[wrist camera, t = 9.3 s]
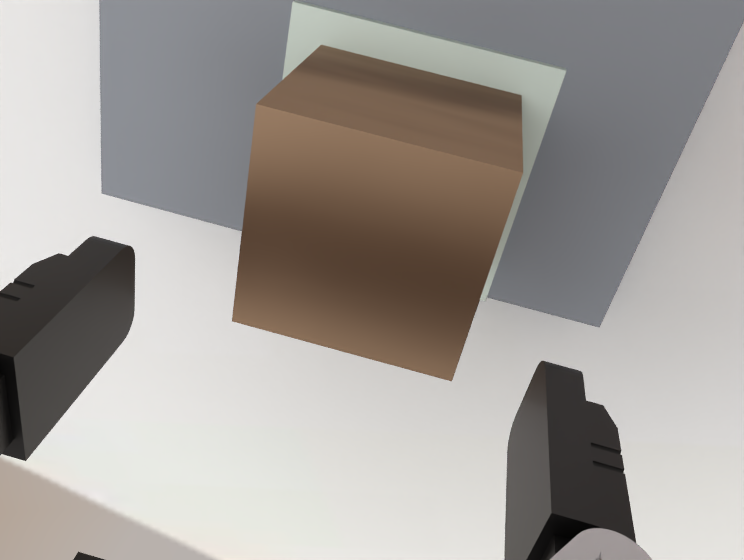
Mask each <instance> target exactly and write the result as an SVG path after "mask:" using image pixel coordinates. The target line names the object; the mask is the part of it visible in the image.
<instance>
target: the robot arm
mask: <svg viewBox="0 0 744 560" xmlns="http://www.w3.org/2000/svg"><path fill="white" fill-rule="evenodd" d="M134 304H135V253H134V250H133V248H132V247H131V246H128V245H124V244H121V243H117V242H113V241H110V240H106V239H102V238H99V237H95V236H92V237H90V238H88V239H87V240H86V241H85V242H83V243H82V244H81V245H80V246H79V247H78V248H77V249H76V250H74V251H73V252H72V253H71V254H70V255H69V256H66V255H63V254H56V255H54V256H51V257H49V258H46V259H44V260H41V261H39V262H37V263H34V264H32V265H31V266H30V267H29V268H27V269H26V270H25V271H24V272H23V273H21V274H20V275H19V276H18V277H17V278H16V279H14V282H13V283H10V284H8V285H7V286H6V287H5V288H4V289H2V290H1V291H0V455H1V454H4V455H7V456H11V457H14V458H17V459H21V460H24V461H26V460H27V459H28V458H29V456H30V455H31V454H32V453H33V451H34V450H35V449H36V448H37V447H38V445H39V444H40V443H41V442H42V440H43V439H44V438H45V437H46V435H47V434H48V433H49V432H50V431H51V429H52V428H53V427H54V426H55V424H56V423H57V422H58V421H59V420H60V418H61V417H62V416H63V415H64V413H65V412H66V411H67V410H68V408H69V407H70V406H71V405H72V404H73V402H74V401H75V400H76V399H77V397H78V396H79V395H80V394H81V393H82V391H83V390H84V389H85V388H86V386H87V385H88V384H89V383H90V381H91V380H92V379H93V378H94V377H95V375H96V374H97V373H98V372H99V370H100V369H101V368H102V367H103V366H104V364H105V363H106V362H107V361H108V359H109V358H110V357H111V356H112V354H113V353H114V352H115V351H116V350H117V348H118V347H119V346H120V345H121V343H122V342H123V341H124V339H125V338H126V336H127V334H128V332H129V330H130V327H131V325H132V321H133V317H134ZM620 453H621V447H620V441H619V434H618V428H617V427H616V425H615V424H614V422H613V420H612V419H611V417H610V416H609V414H608V412H607V411H606V409H605V408H604V406H603V405H600V404H596V403H593V402H589V401H586V398H585V389H584V380H583V374H582V372H581V371H578V370H574V369H571V368H567V367H564V366H560V365H556V364H553V363H549V362H545V361H541V362H540V363H539V365H538V366H537V368H536V371H535V373H534V375H533V377H532V380H531V382H530V384H529V387H528V389H527V391H526V393H525V396H524V398H523V400H522V403H521V405H520V407H519V410H518V412H517V414H516V416H515V419H514V422H513V425H512V428H511V432H510V436H509V442H508V450H507V485H506V523H505V560H652V559H651V558H650V556H649V555H648V554H647V553H646V552H645V551H644V550H643V549H642V548H641V547H640V546H639V545H638V544H636V539H635V533H634V527H633V521H632V514H631V508H630V502H629V496H628V490H627V484H626V477H625V474H623V471H624V465H623V459H622V455H620ZM74 560H104V559H101V558H97V557H94V556H91V555H87V554H83V553H80V552H78V553H77V555H76V556H75V558H74Z"/></svg>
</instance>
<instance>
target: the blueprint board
mask: <svg viewBox="0 0 744 560" xmlns="http://www.w3.org/2000/svg"><path fill="white" fill-rule="evenodd" d="M99 4H100V93H101V181H102V194H106V195H109V196H113V197H117V198H120V199H124V200H128V201H132V202H135V203H139V204H143V205H146V206H150V207H154V208H158V209H161V210H165V211H169V212H172V213H176V214H180V215H184V216H187V217H191V218H195V219H198V220H202V221H206V222H210V223H213V224H217V225H221V226H224V227H228V228H232V229H236V230H239V231H242V227H243V218H244V209H245V200H246V191H247V181H248V172H249V163H250V154H251V145H252V136H253V127H254V118H255V109H256V104H257V103H258V102H259V101H260V100H261V99H262V98H263V97H264V96H265V95H267V94H268V93H269V92H270V91H271V90H272V89H273V88H274V87H275V86H276V85H278V84H279V83H280V82H281V81H282V80H283V79H284V78H285V77H286V76H287V75H288V74H290V73H291V72H292V71H293V70H294V69H295V68H296V67H297V66H298V65H299V64H301V63H302V62H303V61H304V60H305V59H306V58H307V57H308V56H309V55H310V54H312V53H313V52H314V51H315V50H316V49H317V48H318V47H319V46H320V45H325V46H329V47H333V48H337V49H341V50H345V51H349V52H353V53H357V54H361V55H365V56H369V57H372V58H376V59H380V60H384V61H388V62H392V63H396V64H400V65H404V66H408V67H412V68H416V69H420V70H424V71H428V72H432V73H436V74H440V75H444V76H448V77H452V78H456V79H460V80H464V81H468V82H472V83H476V84H479V85H483V86H487V87H491V88H495V89H499V90H503V91H507V92H511V93H515V94H519V95H522V140H523V175H522V178H521V181H520V184H519V187H518V189H517V192H516V195H515V198H514V201H513V204H512V207H511V210H510V213H509V216H508V219H507V222H506V224H505V227H504V230H503V233H502V236H501V239H500V242H499V245H498V248H497V251H496V254H495V257H494V259H493V262H492V265H491V268H490V271H489V274H488V277H487V280H486V283H485V286H484V289H483V292H482V294H481V297H480V300H482V301H486V298H487V297H488V298H492V299H496V300H499V301H503V302H507V303H510V304H514V305H518V306H522V307H525V308H529V309H533V310H536V311H540V312H544V313H548V314H551V315H555V316H559V317H562V318H566V319H570V320H574V321H577V322H581V323H585V324H588V325H592V326H596V327H600V325H601V323H602V321H603V318H604V316H605V314H606V312H607V310H608V308H609V306H610V304H611V301H612V299H613V297H614V295H615V293H616V291H617V289H618V287H619V284H620V282H621V280H622V278H623V276H624V274H625V272H626V270H627V267H628V265H629V263H630V261H631V259H632V257H633V255H634V253H635V251H636V248H637V246H638V244H639V242H640V240H641V238H642V236H643V234H644V231H645V229H646V227H647V225H648V223H649V221H650V219H651V217H652V214H653V212H654V210H655V208H656V206H657V204H658V202H659V200H660V198H661V195H662V193H663V191H664V189H665V187H666V185H667V183H668V181H669V178H670V176H671V174H672V172H673V170H674V168H675V166H676V164H677V161H678V159H679V157H680V155H681V153H682V151H683V149H684V147H685V144H686V142H687V140H688V138H689V136H690V134H691V132H692V130H693V128H694V125H695V123H696V121H697V119H698V117H699V115H700V113H701V111H702V108H703V106H704V104H705V102H706V100H707V98H708V96H709V94H710V91H711V89H712V87H713V85H714V83H715V81H716V79H717V77H718V75H719V72H720V70H721V68H722V66H723V64H724V62H725V60H726V58H727V55H728V53H729V51H730V49H731V47H732V45H733V43H734V41H735V38H736V36H737V34H738V32H739V30H740V28H741V26H742V24H743V21H744V0H99Z"/></svg>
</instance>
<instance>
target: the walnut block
mask: <svg viewBox="0 0 744 560" xmlns="http://www.w3.org/2000/svg"><path fill="white" fill-rule="evenodd" d="M522 175H523V140H522V95H519V94H515V93H511V92H507V91H503V90H499V89H495V88H491V87H487V86H483V85H479V84H476V83H472V82H468V81H464V80H460V79H456V78H452V77H448V76H444V75H440V74H436V73H432V72H428V71H424V70H420V69H416V68H412V67H408V66H404V65H400V64H396V63H392V62H388V61H384V60H380V59H376V58H372V57H369V56H365V55H361V54H357V53H353V52H349V51H345V50H341V49H337V48H333V47H329V46H325V45H320V46H319V47H318V48H317V49H316V50H315V51H314V52H313V53H312V54H310V55H309V56H308V57H307V58H306V59H305V60H304V61H303V62H302V63H301V64H299V65H298V66H297V67H296V68H295V69H294V70H293V71H292V72H291V73H290V74H288V75H287V76H286V77H285V78H284V79H283V80H282V81H281V82H280V83H279V84H278V85H276V86H275V87H274V88H273V89H272V90H271V91H270V92H269V93H268V94H267V95H265V96H264V97H263V98H262V99H261V100H260V101H259V102H258V103H257V104H256V109H255V118H254V127H253V136H252V145H251V154H250V163H249V172H248V181H247V191H246V200H245V209H244V218H243V227H242V236H241V245H240V254H239V263H238V272H237V281H236V290H235V299H234V308H233V317H232V321H233V322H237V323H241V324H244V325H248V326H252V327H255V328H259V329H262V330H266V331H270V332H273V333H277V334H281V335H284V336H288V337H292V338H295V339H299V340H303V341H306V342H310V343H314V344H317V345H321V346H325V347H328V348H332V349H336V350H339V351H343V352H347V353H350V354H354V355H357V356H361V357H365V358H368V359H372V360H376V361H379V362H383V363H387V364H390V365H394V366H398V367H401V368H405V369H409V370H412V371H416V372H420V373H423V374H427V375H431V376H434V377H438V378H442V379H445V380H449V381H452V379H453V376H454V373H455V370H456V367H457V364H458V362H459V359H460V356H461V353H462V350H463V347H464V344H465V341H466V338H467V335H468V332H469V329H470V327H471V324H472V321H473V318H474V315H475V312H476V309H477V306H478V303H479V300H480V297H481V294H482V292H483V289H484V286H485V283H486V280H487V277H488V274H489V271H490V268H491V265H492V262H493V259H494V257H495V254H496V251H497V248H498V245H499V242H500V239H501V236H502V233H503V230H504V227H505V224H506V222H507V219H508V216H509V213H510V210H511V207H512V204H513V201H514V198H515V195H516V192H517V189H518V187H519V184H520V181H521V178H522Z"/></svg>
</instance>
